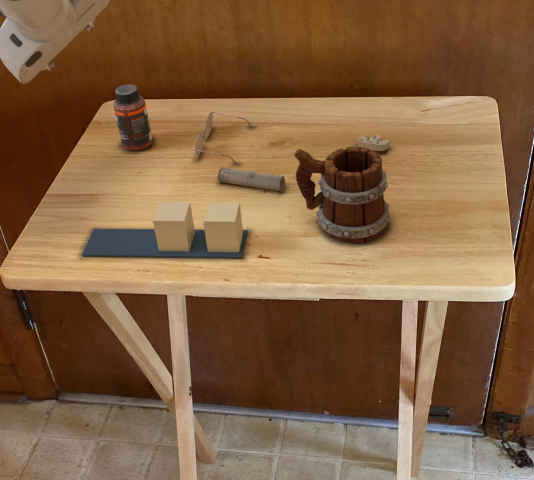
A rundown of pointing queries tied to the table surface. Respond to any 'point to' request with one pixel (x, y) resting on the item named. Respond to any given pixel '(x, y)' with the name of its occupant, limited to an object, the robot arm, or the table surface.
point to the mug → (346, 192)
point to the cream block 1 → (174, 226)
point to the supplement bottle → (132, 118)
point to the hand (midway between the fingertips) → (69, 45)
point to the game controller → (373, 143)
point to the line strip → (148, 245)
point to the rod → (251, 179)
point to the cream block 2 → (223, 227)
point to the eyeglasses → (207, 131)
